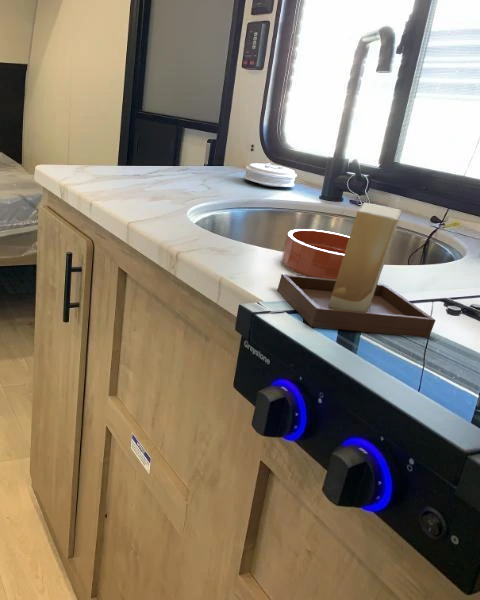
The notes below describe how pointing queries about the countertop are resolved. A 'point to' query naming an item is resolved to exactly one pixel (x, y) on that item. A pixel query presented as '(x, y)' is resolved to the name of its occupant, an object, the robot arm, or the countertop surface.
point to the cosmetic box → (364, 257)
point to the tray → (379, 319)
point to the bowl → (314, 252)
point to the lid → (270, 175)
